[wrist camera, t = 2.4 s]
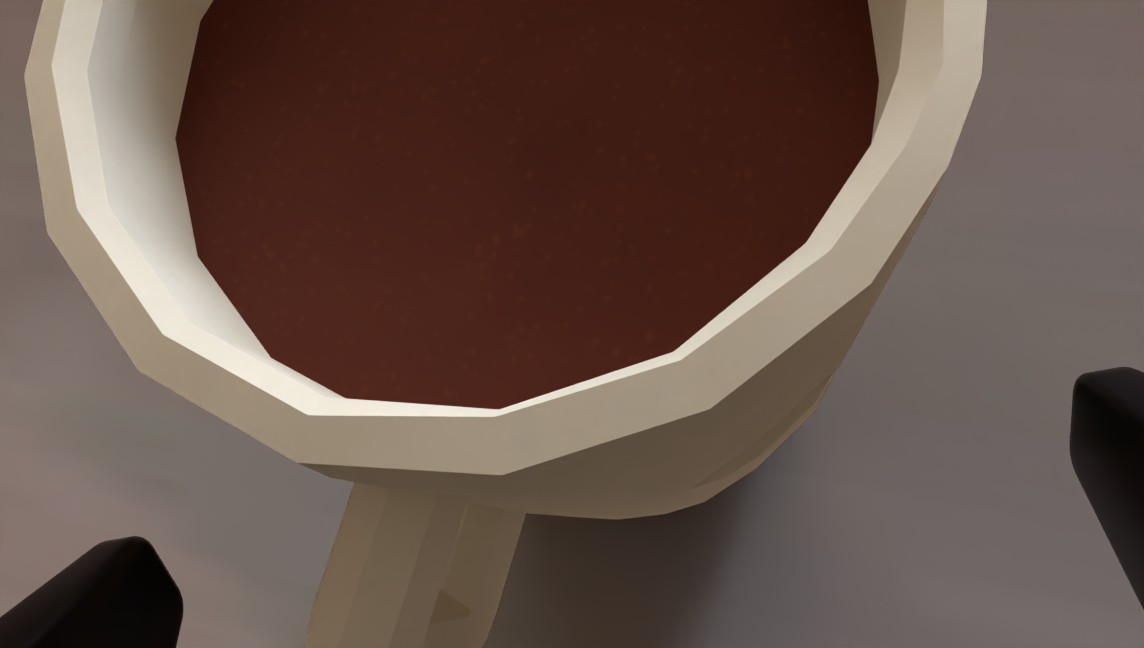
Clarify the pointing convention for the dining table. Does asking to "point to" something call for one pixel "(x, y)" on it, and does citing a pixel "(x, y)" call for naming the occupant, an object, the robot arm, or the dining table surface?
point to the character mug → (493, 244)
